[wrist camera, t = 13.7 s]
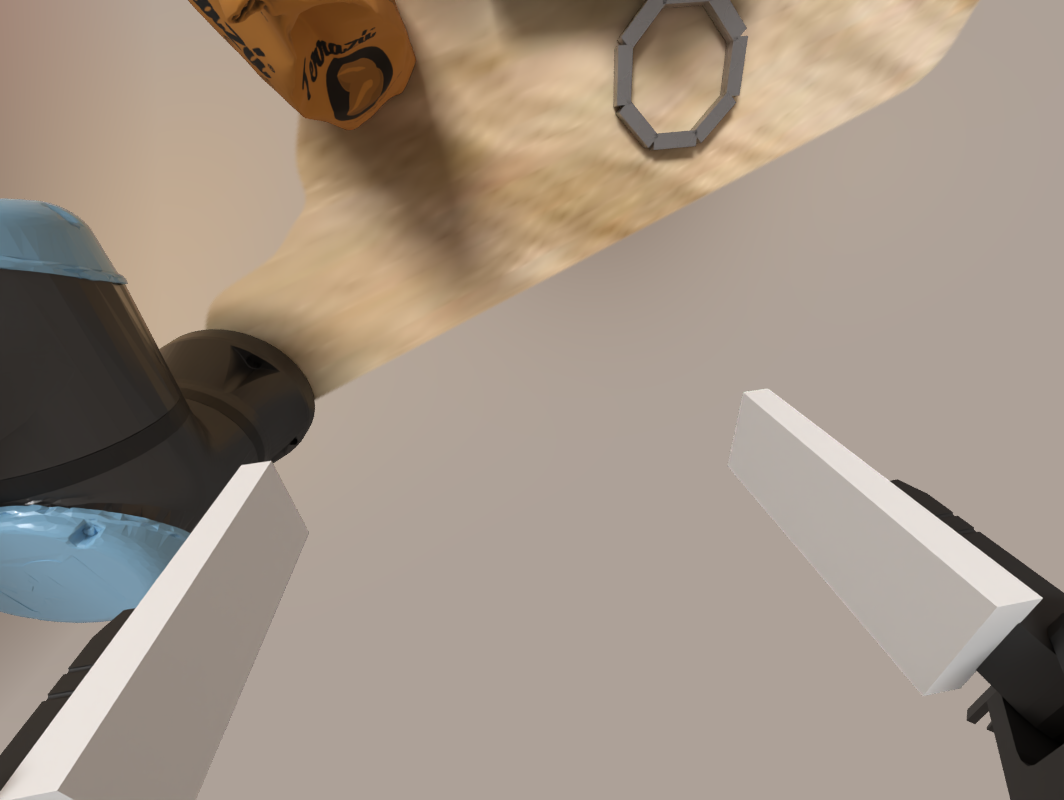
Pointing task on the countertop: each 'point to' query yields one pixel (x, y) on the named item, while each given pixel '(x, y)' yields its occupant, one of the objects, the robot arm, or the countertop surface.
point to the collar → (731, 30)
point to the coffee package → (320, 52)
